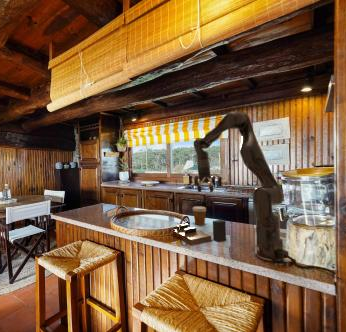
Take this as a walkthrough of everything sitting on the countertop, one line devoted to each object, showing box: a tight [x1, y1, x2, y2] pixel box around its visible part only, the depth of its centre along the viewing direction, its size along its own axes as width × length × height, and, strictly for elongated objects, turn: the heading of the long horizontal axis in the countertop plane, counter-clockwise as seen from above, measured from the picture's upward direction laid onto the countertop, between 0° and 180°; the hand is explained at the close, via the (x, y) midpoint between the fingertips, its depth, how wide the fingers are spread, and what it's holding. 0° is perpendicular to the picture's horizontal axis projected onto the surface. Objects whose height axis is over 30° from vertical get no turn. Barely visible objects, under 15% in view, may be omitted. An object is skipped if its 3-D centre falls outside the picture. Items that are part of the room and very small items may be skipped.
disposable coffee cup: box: [192, 205, 207, 226], centre depth 152 cm, size 10×10×12 cm
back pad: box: [212, 219, 227, 243], centre depth 121 cm, size 4×6×11 cm, turn 111°
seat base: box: [172, 223, 212, 246], centre depth 126 cm, size 18×14×6 cm
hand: (205, 191), depth 137 cm, fingers open, 8 cm apart
